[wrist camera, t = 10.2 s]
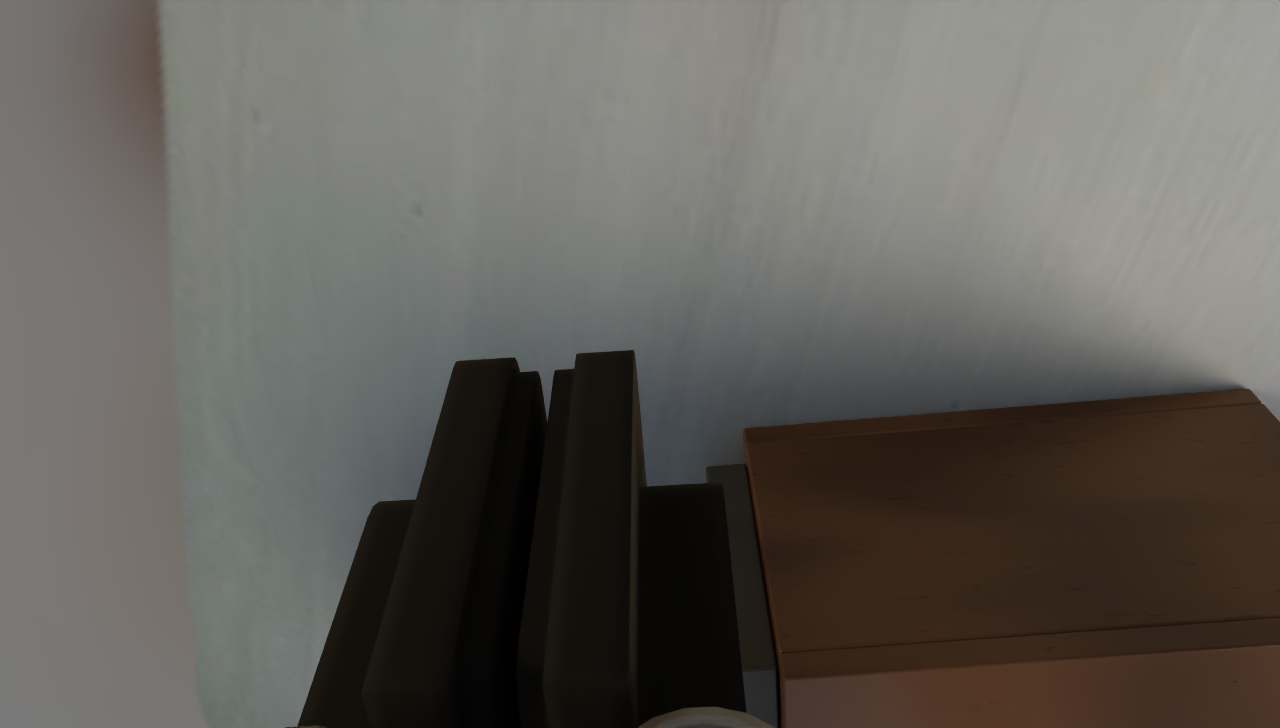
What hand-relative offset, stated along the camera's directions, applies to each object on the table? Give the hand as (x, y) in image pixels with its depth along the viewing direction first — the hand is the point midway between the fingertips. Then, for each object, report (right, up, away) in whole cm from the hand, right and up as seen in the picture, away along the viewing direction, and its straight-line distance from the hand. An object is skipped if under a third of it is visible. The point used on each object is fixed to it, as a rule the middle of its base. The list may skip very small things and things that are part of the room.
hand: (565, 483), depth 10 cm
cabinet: (+12, -5, +24) cm, 27 cm away
